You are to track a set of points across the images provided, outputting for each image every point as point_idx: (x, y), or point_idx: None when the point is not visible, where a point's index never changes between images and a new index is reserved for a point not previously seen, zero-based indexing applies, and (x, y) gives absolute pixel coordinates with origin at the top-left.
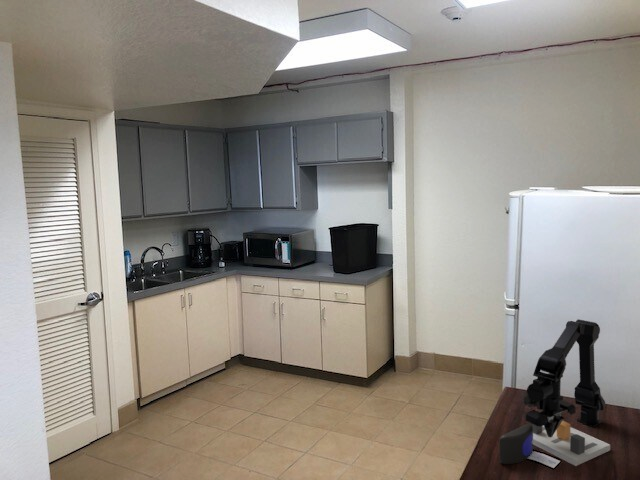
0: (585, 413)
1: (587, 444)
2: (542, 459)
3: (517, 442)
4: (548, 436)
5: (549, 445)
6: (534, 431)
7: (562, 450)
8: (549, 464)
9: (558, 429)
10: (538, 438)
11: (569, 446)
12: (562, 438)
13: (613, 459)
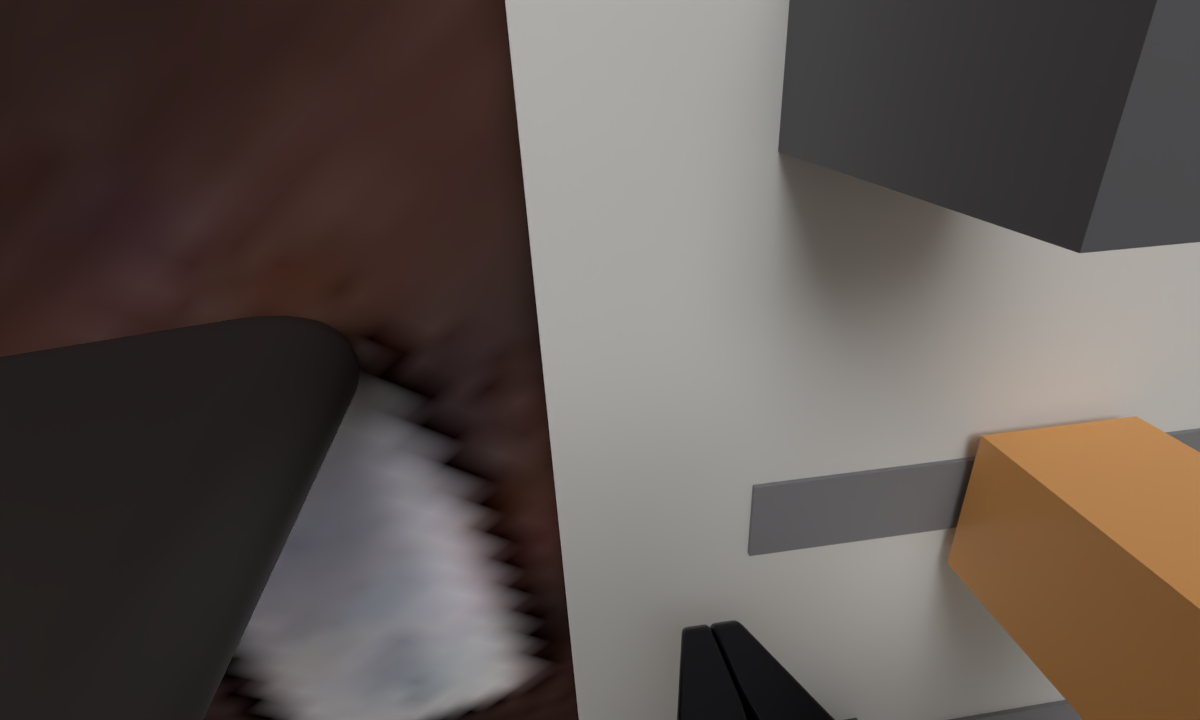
0: None
1: (1060, 694)
2: (322, 609)
3: None
4: (682, 640)
5: (609, 567)
6: (808, 82)
7: (652, 711)
8: (326, 704)
9: (1112, 585)
10: (654, 310)
11: (837, 667)
12: (965, 544)
13: None
